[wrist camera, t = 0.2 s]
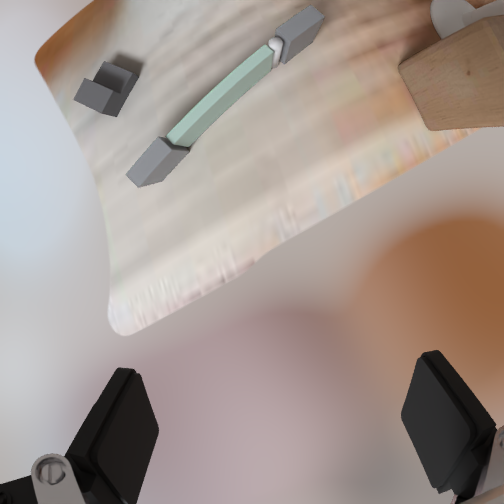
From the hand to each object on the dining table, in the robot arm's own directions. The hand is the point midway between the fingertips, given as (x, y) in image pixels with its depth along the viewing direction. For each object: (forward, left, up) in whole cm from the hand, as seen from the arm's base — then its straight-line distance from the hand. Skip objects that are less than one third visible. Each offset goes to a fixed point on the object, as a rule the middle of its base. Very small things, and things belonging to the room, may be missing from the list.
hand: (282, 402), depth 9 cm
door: (-7, -14, -30) cm, 33 cm away
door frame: (-7, -14, -30) cm, 34 cm away
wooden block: (-30, +2, -30) cm, 43 cm away
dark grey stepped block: (+2, -27, -30) cm, 40 cm away
